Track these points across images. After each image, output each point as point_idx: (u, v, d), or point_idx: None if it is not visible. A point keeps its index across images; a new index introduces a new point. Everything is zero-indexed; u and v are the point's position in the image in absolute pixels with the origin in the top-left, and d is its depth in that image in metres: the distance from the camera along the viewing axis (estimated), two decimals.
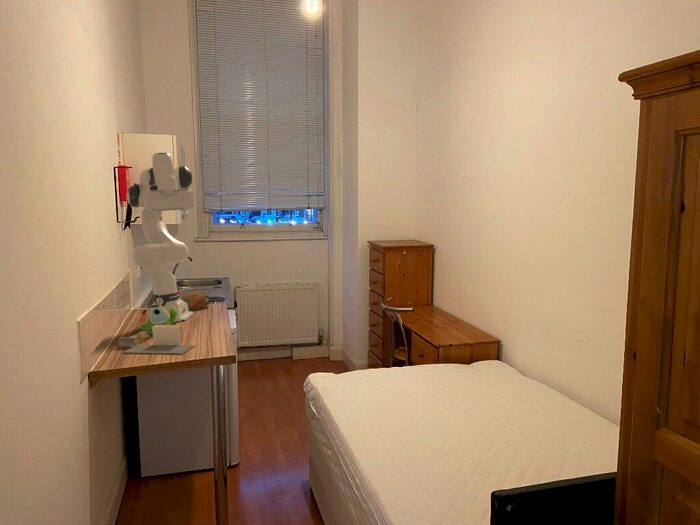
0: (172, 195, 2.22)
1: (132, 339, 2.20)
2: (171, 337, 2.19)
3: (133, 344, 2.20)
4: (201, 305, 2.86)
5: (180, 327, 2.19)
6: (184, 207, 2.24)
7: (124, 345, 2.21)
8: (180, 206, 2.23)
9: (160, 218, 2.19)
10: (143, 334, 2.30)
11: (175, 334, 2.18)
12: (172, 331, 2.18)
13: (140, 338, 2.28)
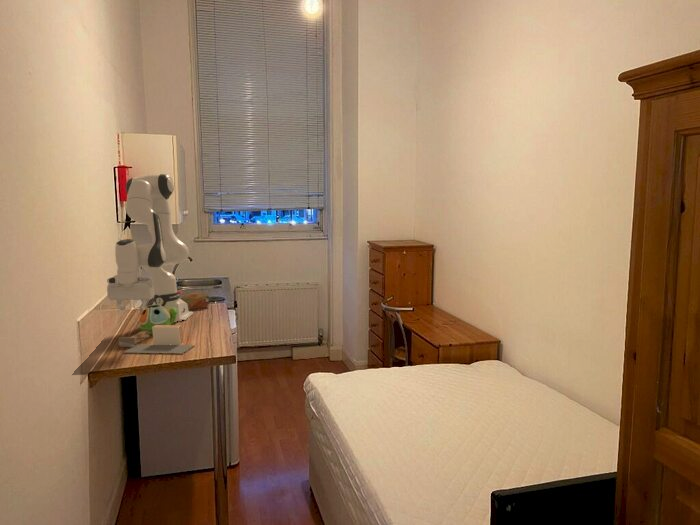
0: (130, 287, 2.21)
1: (132, 339, 2.20)
2: (171, 337, 2.19)
3: (133, 344, 2.20)
4: (201, 305, 2.86)
5: (180, 327, 2.19)
6: (141, 299, 2.22)
7: (124, 345, 2.21)
8: (137, 298, 2.22)
9: (121, 308, 2.25)
10: (143, 334, 2.30)
11: (175, 334, 2.18)
12: (172, 331, 2.18)
13: (140, 338, 2.28)
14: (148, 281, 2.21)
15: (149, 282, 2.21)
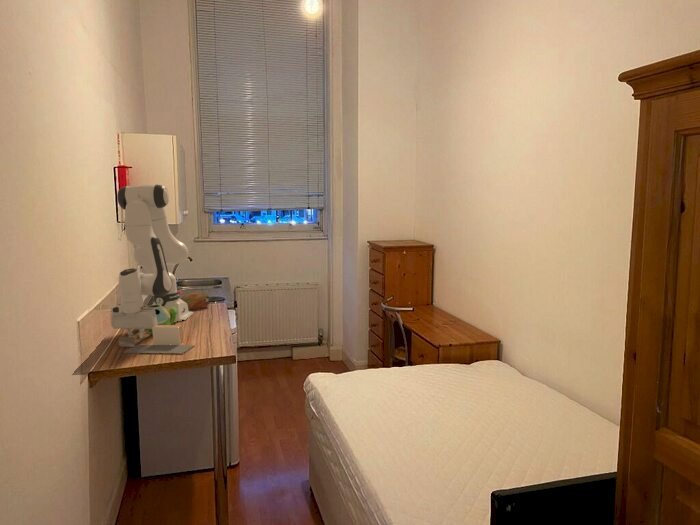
0: (133, 316, 2.23)
1: (132, 339, 2.20)
2: (171, 337, 2.19)
3: (133, 344, 2.20)
4: (201, 305, 2.86)
5: (180, 327, 2.19)
6: (144, 328, 2.24)
7: (124, 344, 2.21)
8: (140, 327, 2.24)
9: None
10: (143, 334, 2.30)
11: (175, 334, 2.18)
12: (172, 331, 2.18)
13: None
14: (151, 310, 2.23)
15: (152, 311, 2.23)
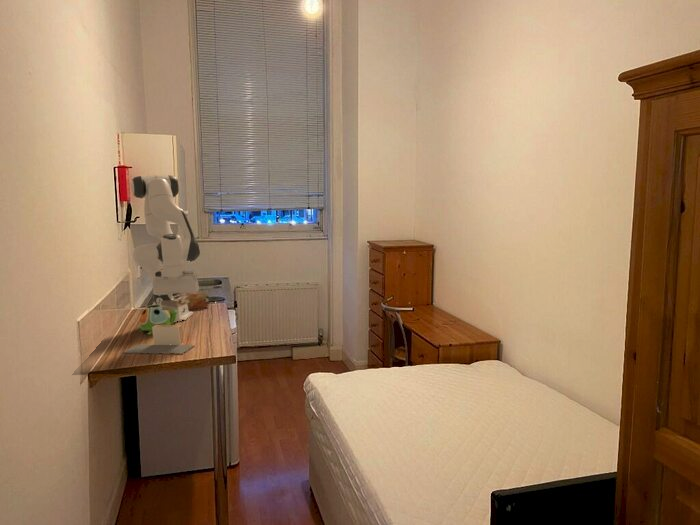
0: (176, 280, 2.27)
1: (174, 302, 2.23)
2: (171, 337, 2.19)
3: (175, 307, 2.23)
4: (201, 305, 2.86)
5: (180, 327, 2.19)
6: (186, 292, 2.27)
7: (166, 308, 2.24)
8: (182, 292, 2.27)
9: None
10: (184, 299, 2.33)
11: (175, 334, 2.18)
12: (172, 331, 2.18)
13: None
14: (193, 275, 2.26)
15: (194, 276, 2.26)
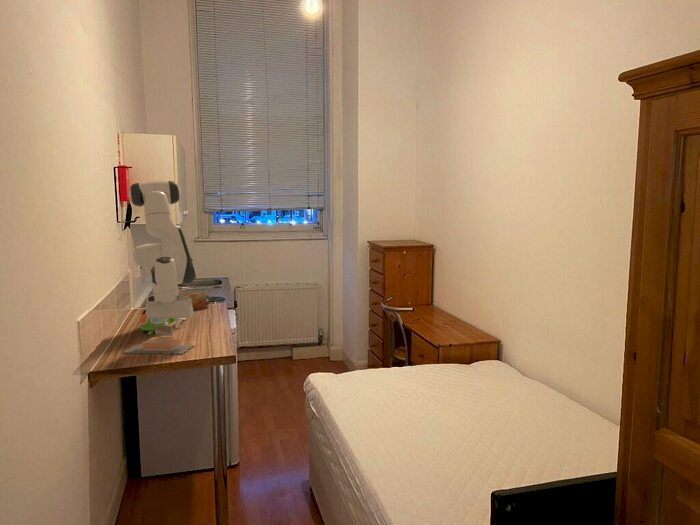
0: (169, 305, 2.20)
1: (168, 327, 2.16)
2: None
3: (169, 333, 2.16)
4: (201, 305, 2.86)
5: (170, 345, 2.11)
6: (180, 317, 2.20)
7: (160, 333, 2.17)
8: (176, 317, 2.20)
9: None
10: (178, 324, 2.26)
11: None
12: None
13: None
14: (188, 299, 2.19)
15: (189, 300, 2.19)
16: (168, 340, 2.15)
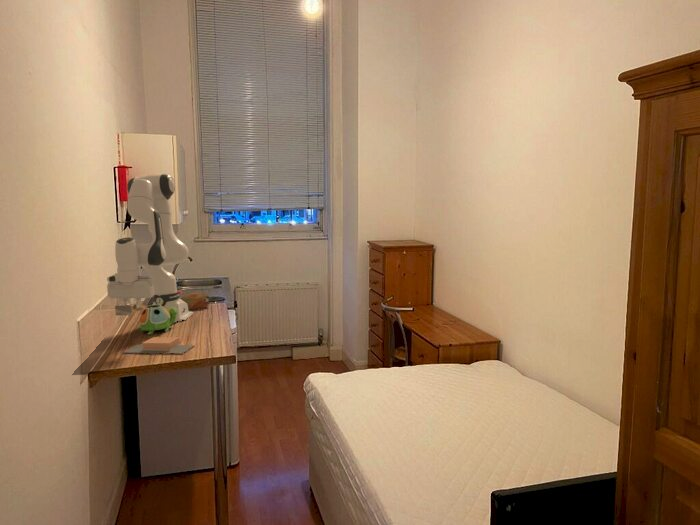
0: (130, 285, 2.21)
1: (128, 307, 2.18)
2: None
3: (129, 312, 2.18)
4: (201, 305, 2.86)
5: (170, 345, 2.11)
6: None
7: (120, 313, 2.19)
8: (137, 297, 2.22)
9: None
10: (140, 304, 2.28)
11: None
12: None
13: (137, 308, 2.26)
14: (148, 279, 2.21)
15: (149, 280, 2.21)
16: (168, 340, 2.15)
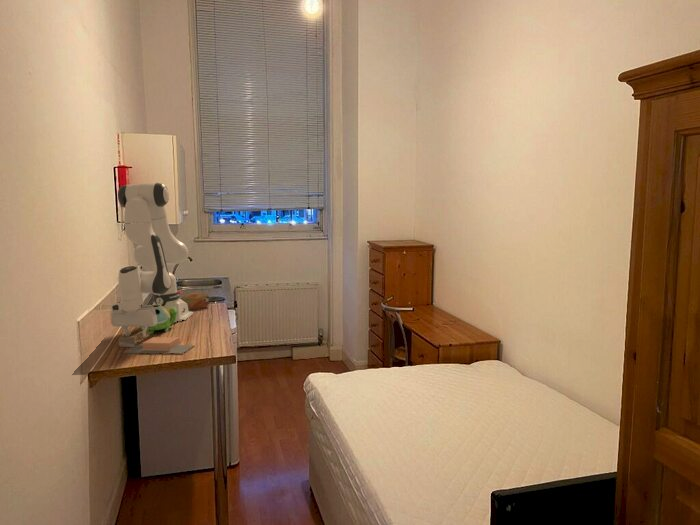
0: (133, 314, 2.23)
1: (132, 339, 2.20)
2: None
3: (133, 344, 2.20)
4: (201, 305, 2.86)
5: (170, 345, 2.11)
6: (144, 326, 2.24)
7: (124, 345, 2.21)
8: (140, 325, 2.24)
9: (127, 334, 2.27)
10: None
11: None
12: None
13: (140, 338, 2.28)
14: (151, 308, 2.23)
15: (152, 309, 2.23)
16: (168, 340, 2.15)
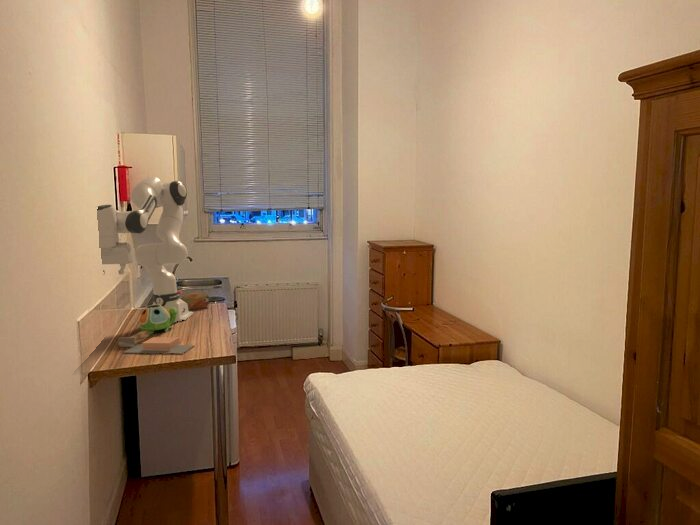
0: (109, 251, 2.25)
1: (132, 339, 2.20)
2: None
3: (133, 344, 2.20)
4: (201, 305, 2.86)
5: (170, 345, 2.11)
6: (120, 263, 2.26)
7: (124, 345, 2.21)
8: (116, 263, 2.26)
9: None
10: (143, 334, 2.30)
11: None
12: None
13: (140, 338, 2.28)
14: (126, 246, 2.25)
15: (127, 246, 2.25)
16: (168, 340, 2.15)
